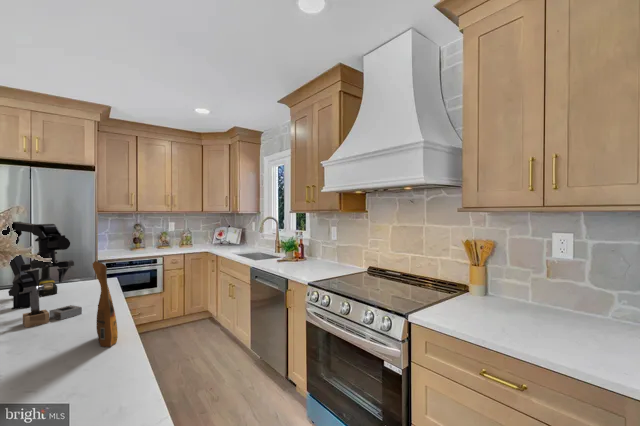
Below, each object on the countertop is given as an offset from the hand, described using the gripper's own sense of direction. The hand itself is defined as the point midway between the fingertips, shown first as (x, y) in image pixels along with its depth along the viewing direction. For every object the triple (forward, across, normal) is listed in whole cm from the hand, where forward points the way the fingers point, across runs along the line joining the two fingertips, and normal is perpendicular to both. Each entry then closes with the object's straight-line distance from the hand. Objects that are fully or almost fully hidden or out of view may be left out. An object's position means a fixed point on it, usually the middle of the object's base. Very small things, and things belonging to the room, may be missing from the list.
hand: (48, 283), depth 141 cm
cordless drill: (+10, -16, +29) cm, 35 cm away
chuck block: (+13, +12, -12) cm, 22 cm away
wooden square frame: (+13, +6, -20) cm, 24 cm away
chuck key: (+13, +6, -20) cm, 24 cm away
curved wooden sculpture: (+15, +41, -45) cm, 63 cm away
